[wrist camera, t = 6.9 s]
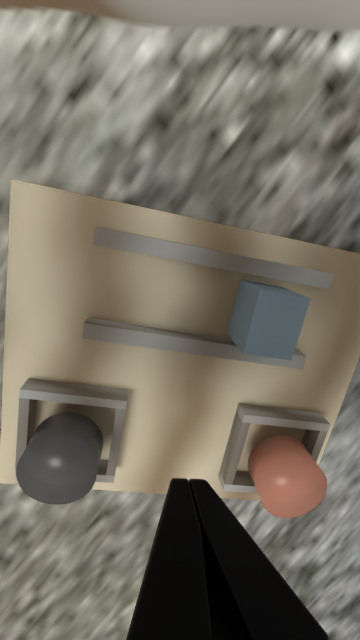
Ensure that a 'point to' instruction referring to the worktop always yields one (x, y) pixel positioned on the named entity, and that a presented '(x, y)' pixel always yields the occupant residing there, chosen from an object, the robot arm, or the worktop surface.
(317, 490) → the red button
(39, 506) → the worktop surface
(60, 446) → the black button
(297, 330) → the slider knob
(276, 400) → the control panel
